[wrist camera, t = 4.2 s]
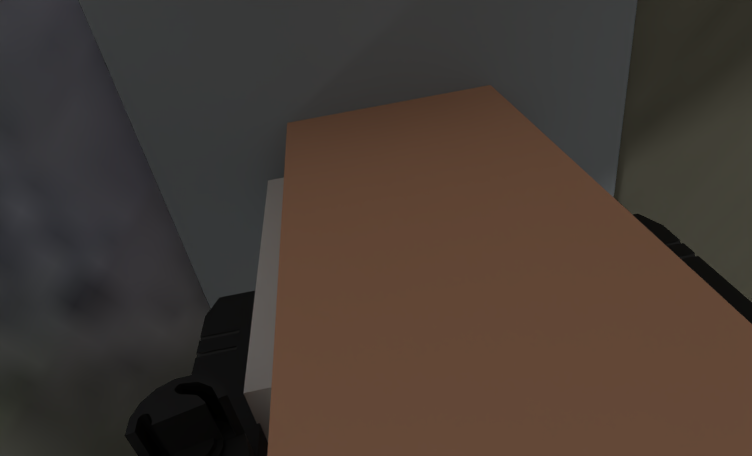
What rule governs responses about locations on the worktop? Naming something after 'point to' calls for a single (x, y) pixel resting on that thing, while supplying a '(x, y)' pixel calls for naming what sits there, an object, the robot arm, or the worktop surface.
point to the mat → (339, 89)
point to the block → (486, 300)
